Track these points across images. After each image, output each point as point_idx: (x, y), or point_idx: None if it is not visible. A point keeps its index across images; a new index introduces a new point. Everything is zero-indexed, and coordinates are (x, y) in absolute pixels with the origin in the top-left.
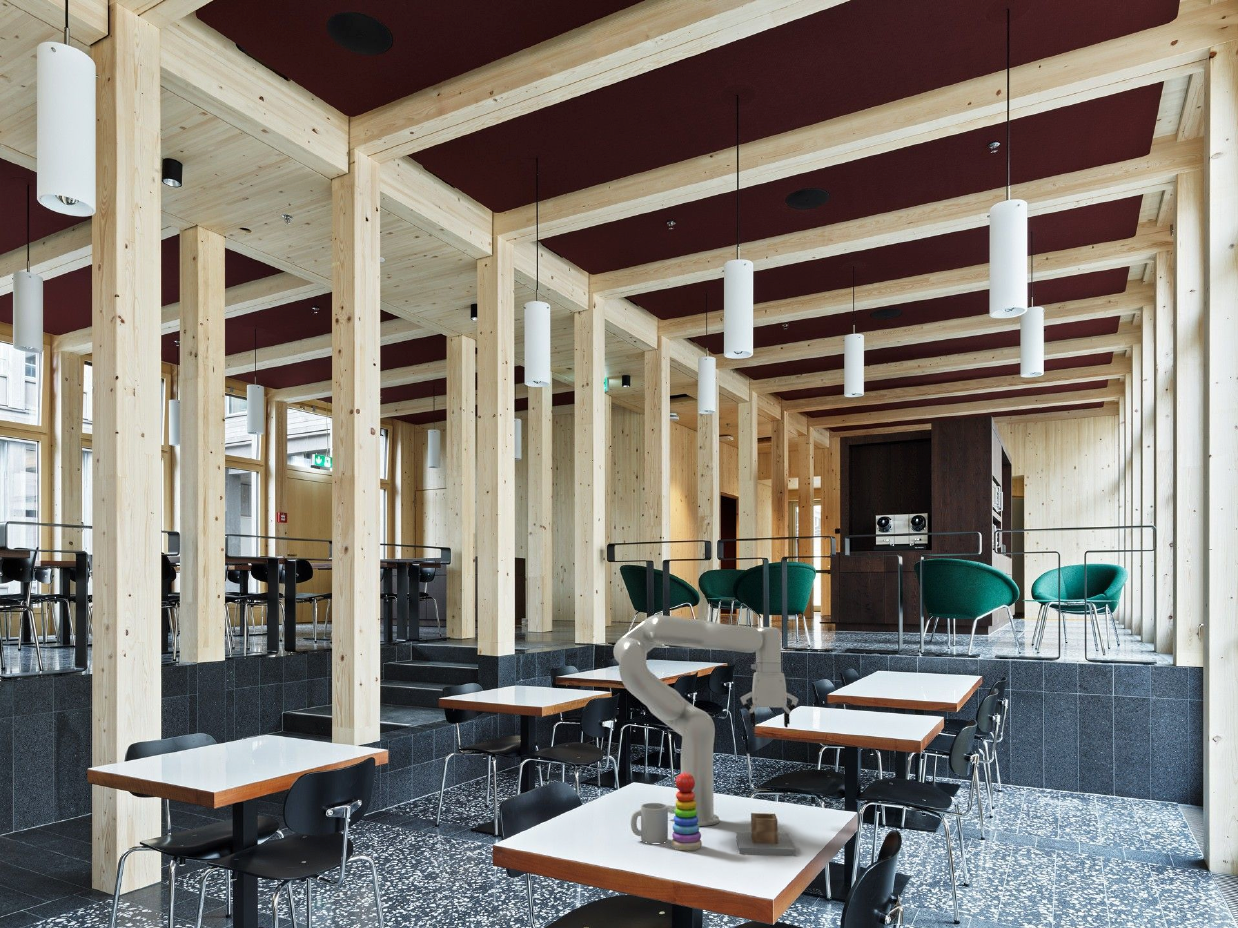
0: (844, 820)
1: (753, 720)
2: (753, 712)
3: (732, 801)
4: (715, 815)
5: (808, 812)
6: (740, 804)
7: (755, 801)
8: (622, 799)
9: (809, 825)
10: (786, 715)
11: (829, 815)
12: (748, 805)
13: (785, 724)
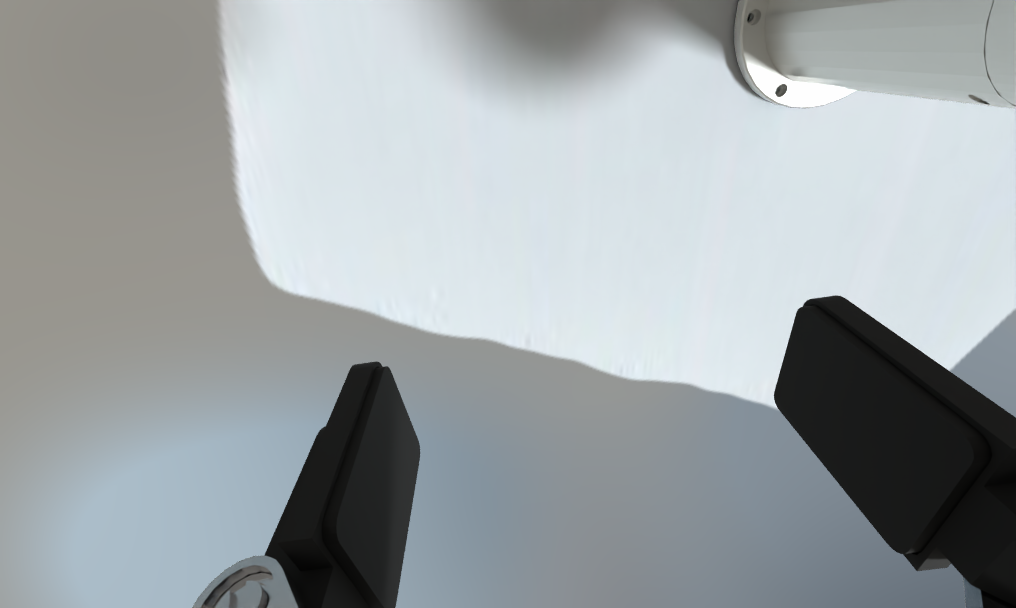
0: (252, 183)
1: (894, 343)
2: (1005, 488)
3: (645, 331)
4: (750, 55)
5: (398, 261)
6: (622, 303)
7: (574, 348)
8: (1007, 269)
9: (359, 60)
10: (308, 503)
11: (322, 240)
12: (597, 298)
13: (375, 384)
